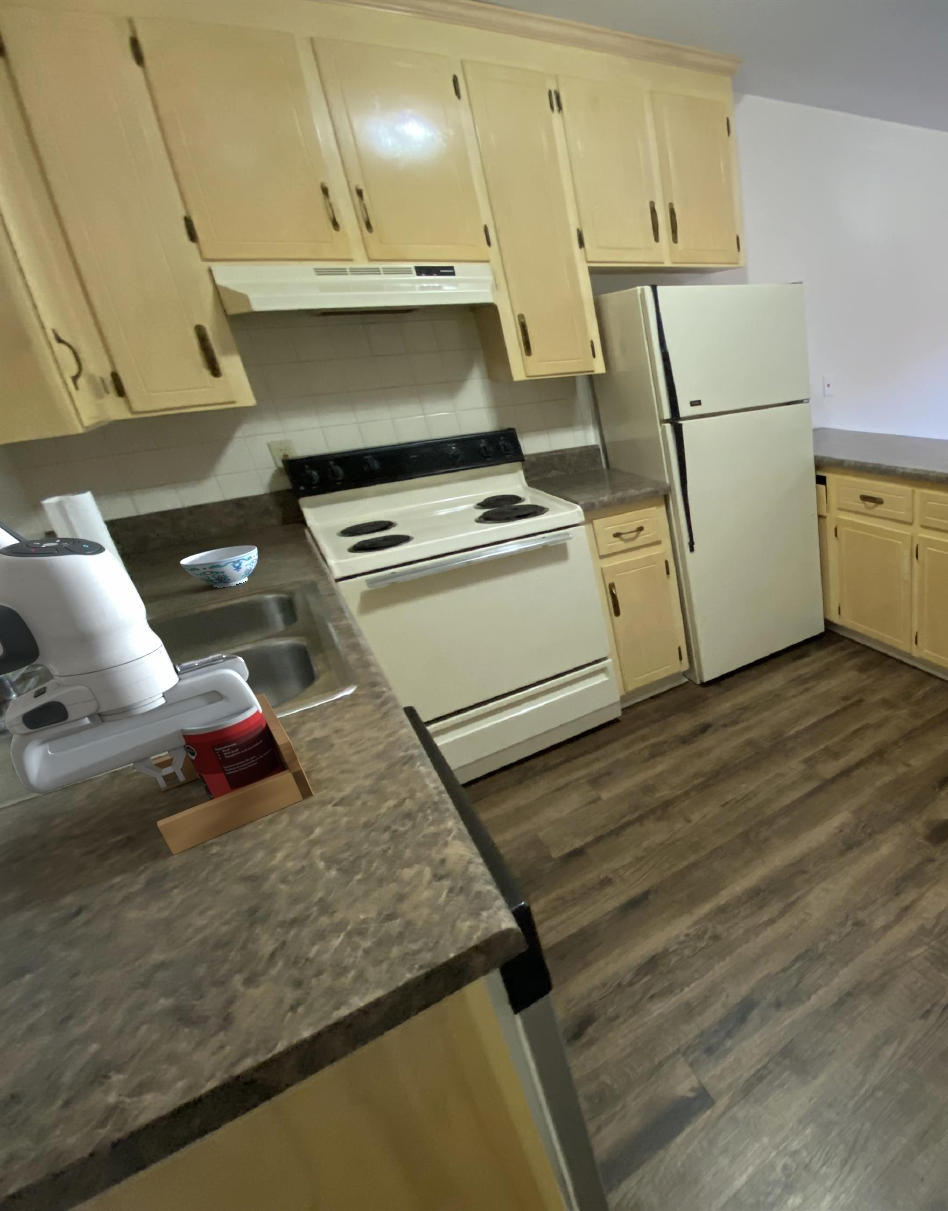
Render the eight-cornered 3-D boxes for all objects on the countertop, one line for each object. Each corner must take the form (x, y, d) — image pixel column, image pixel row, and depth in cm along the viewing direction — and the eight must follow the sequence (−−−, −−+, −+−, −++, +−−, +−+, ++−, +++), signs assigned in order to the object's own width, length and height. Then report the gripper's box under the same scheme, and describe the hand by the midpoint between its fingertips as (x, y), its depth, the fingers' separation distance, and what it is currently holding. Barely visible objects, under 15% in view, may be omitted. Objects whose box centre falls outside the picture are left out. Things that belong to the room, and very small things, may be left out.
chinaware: (282, 572, 173) (271, 544, 170) (229, 593, 159) (216, 563, 156) (233, 573, 175) (221, 546, 172) (176, 594, 161) (162, 565, 158)
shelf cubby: (173, 855, 73) (140, 796, 70) (161, 788, 85) (133, 735, 82) (313, 795, 81) (290, 740, 78) (284, 742, 93) (263, 692, 90)
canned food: (235, 774, 87) (201, 701, 82) (301, 765, 88) (271, 693, 84) (195, 812, 80) (156, 734, 75) (267, 801, 81) (232, 724, 77)
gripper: (235, 640, 82) (276, 734, 87) (-12, 708, 69) (54, 814, 74) (242, 654, 78) (284, 752, 83) (-19, 729, 65) (51, 840, 70)
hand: (174, 782), depth 78 cm, fingers closed
